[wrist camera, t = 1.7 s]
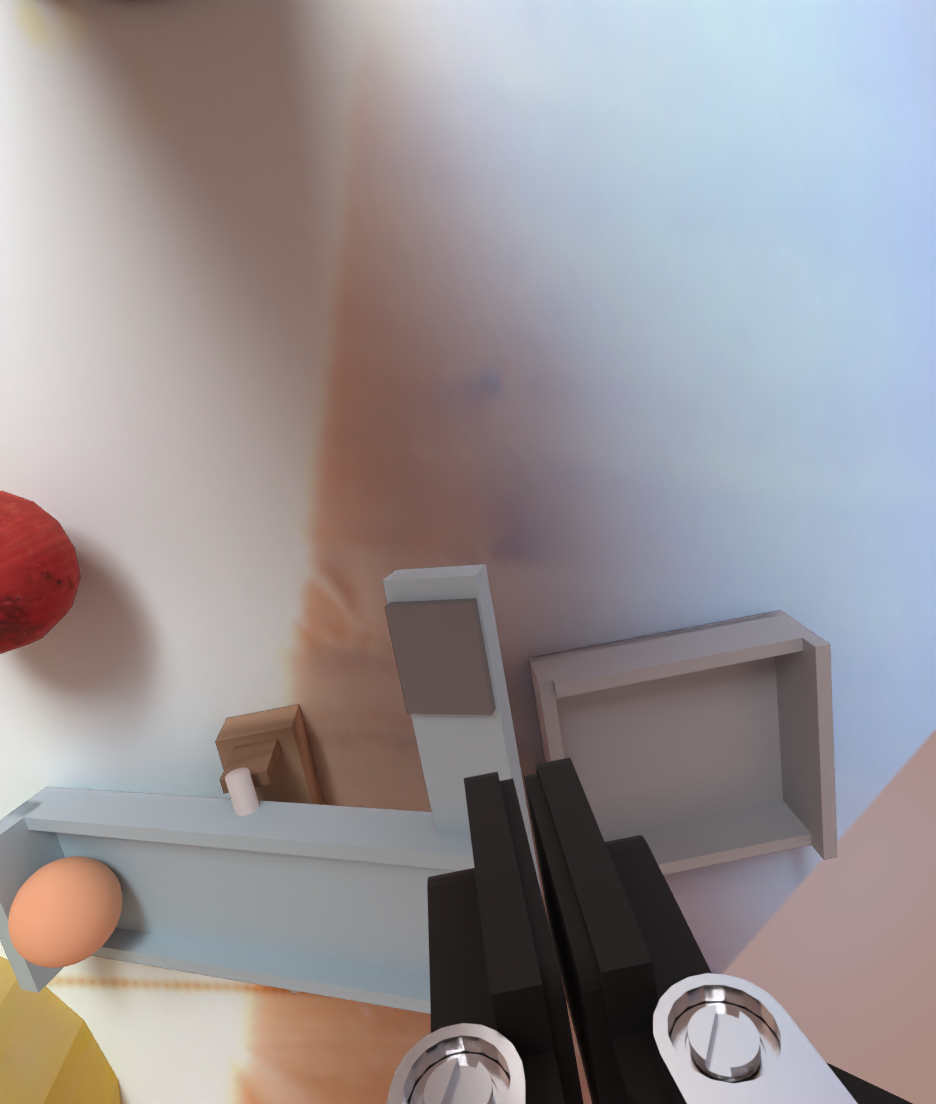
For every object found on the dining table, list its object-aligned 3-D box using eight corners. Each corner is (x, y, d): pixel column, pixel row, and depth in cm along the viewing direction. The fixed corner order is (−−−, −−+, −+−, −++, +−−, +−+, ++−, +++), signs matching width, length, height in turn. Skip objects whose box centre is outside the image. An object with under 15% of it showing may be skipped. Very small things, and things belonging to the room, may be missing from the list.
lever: (-26, 596, 29) (-130, 637, 26) (486, 564, 22) (439, 616, 18) (105, 941, 34) (33, 1016, 30) (562, 1015, 26) (538, 1127, 23)
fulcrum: (226, 718, 32) (198, 774, 28) (298, 704, 32) (282, 758, 28) (280, 902, 35) (262, 980, 30) (347, 889, 35) (338, 965, 30)
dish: (528, 658, 32) (545, 699, 28) (780, 610, 33) (830, 644, 29) (559, 849, 35) (577, 909, 31) (790, 802, 35) (837, 857, 32)
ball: (71, 826, 31) (-27, 891, 28) (126, 847, 29) (26, 920, 26) (99, 902, 32) (8, 972, 29) (154, 928, 30) (62, 1007, 27)
